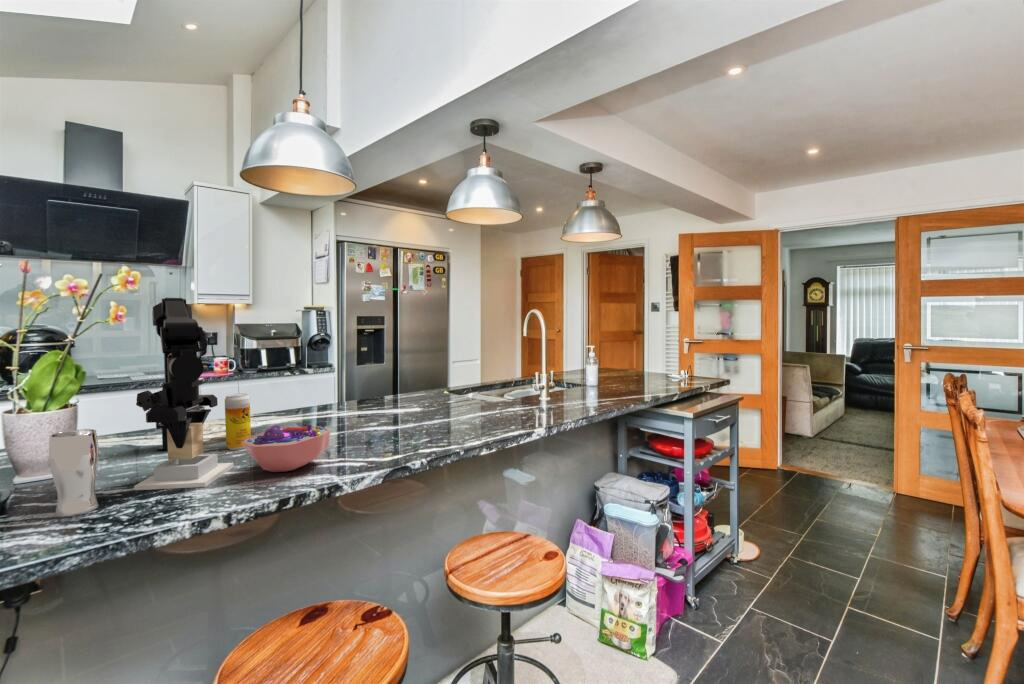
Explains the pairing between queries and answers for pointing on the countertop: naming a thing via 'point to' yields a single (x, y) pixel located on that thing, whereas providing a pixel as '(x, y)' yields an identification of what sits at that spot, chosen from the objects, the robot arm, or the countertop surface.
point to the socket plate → (185, 473)
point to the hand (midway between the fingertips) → (186, 444)
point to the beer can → (237, 420)
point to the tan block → (187, 443)
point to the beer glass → (74, 470)
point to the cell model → (287, 447)
